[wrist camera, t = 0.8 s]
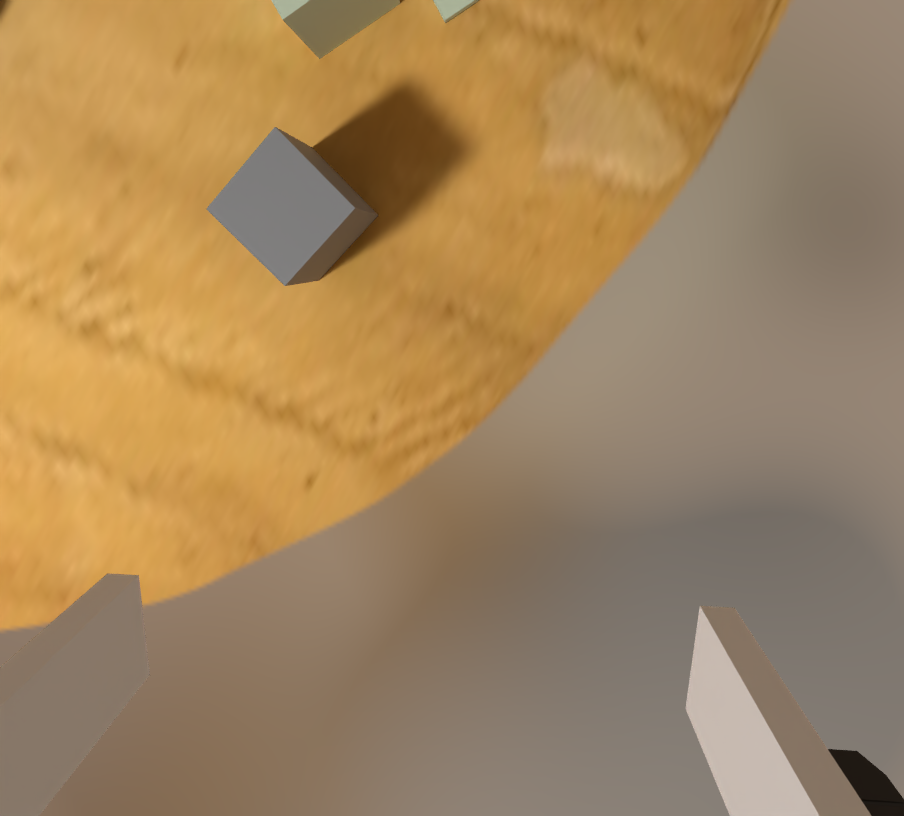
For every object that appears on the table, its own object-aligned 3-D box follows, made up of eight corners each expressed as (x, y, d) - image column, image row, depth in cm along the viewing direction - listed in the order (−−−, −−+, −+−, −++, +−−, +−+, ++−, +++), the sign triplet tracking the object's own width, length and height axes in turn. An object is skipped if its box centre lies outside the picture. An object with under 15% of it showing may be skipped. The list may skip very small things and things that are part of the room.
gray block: (253, 215, 36) (206, 209, 30) (312, 147, 35) (275, 126, 29) (318, 280, 36) (284, 285, 31) (378, 215, 35) (355, 208, 30)
